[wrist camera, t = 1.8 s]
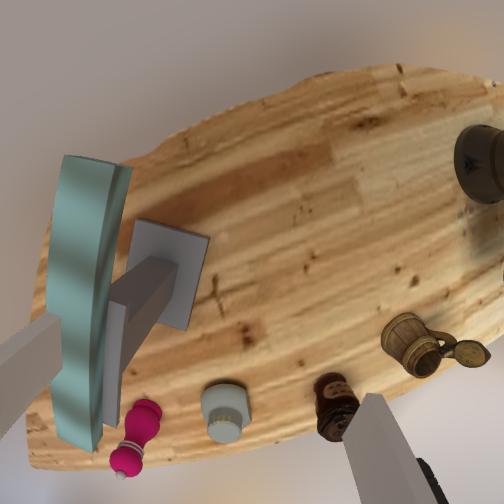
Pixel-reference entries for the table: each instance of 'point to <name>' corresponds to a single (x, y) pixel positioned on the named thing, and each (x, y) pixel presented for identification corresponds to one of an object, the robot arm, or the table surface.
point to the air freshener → (225, 411)
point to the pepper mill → (135, 438)
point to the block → (83, 288)
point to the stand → (148, 298)
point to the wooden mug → (427, 346)
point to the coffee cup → (334, 406)
